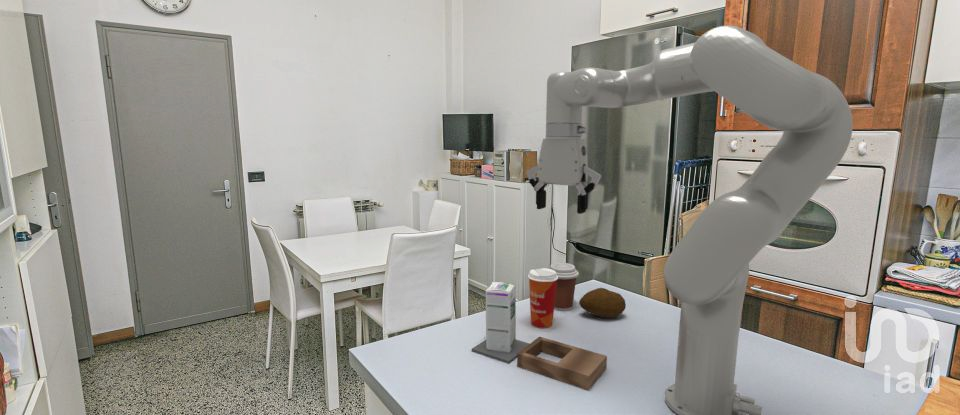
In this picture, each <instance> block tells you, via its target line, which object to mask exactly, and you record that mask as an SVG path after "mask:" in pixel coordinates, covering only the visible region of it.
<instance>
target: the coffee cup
mask: <svg viewBox="0 0 960 415" xmlns="http://www.w3.org/2000/svg"><path fill="white" fill-rule="evenodd" d="M548 269H551V270H554V271H556V273H557V276H558V279H557V282H556V293H555V304H554V311H555V310H556V311H562V312H563V311H564V312H565V311H566V312H567V311H570V310H573V307H574V298H575V290H576V281H577V278H578V277H579V276H580V274H579V271H578V270H577V269H576V266H575V265H574V264H572V263H568V262H553V263H552V264H550V266H549V268H548Z"/></svg>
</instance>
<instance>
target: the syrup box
mask: <svg viewBox="0 0 960 415" xmlns="http://www.w3.org/2000/svg"><path fill="white" fill-rule="evenodd" d="M516 289H517V288H516V284H515V283H511V282H503V281H495V282H494V281H492V282H491V284H490V285H488V287H487V288H486V289H485V340H486V349H487V350H492V351H499V352H507V353H510V352H511V350H512V348H513V346H514V344H515V342H516V340H517V339H516V337H517V336H516V330H517V329H516V321H517V319H516V318H517V317H516V313H517V312H516V308H517V307H516V304H517V302H516V299H517V298H516V293H517V292H516Z"/></svg>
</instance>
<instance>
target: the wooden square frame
mask: <svg viewBox="0 0 960 415" xmlns="http://www.w3.org/2000/svg"><path fill="white" fill-rule="evenodd" d="M541 353H543V354H545V355H550V356H553V357H556V358H559V359H560V360H559V361H558V362H555V361H553V360H550V359H547V358H544V357H540V356H538V355H540V354H541ZM607 362H608V355H606V354H602V353H598V352H596V351H595V352H594V351H592V350H588V349H584V348H581V347H577V346H574V345H570V344H567V343H563V342H559V341H557V340H552V339H549V338H546V337H542V336H538V337H537V338H535V339H534V340H533V341H532V342H530V344H529V345H528V346H526V347H525V348H524V349H522V350H521V351H520V352H518V353H517V358H516V367H517V368H520V369H523V370H526V369H527V370H526V371H529V372H531V373H535V374H538V375H542V376H545V377H546V378H550V379H553V380H557V381H559V382H562V383H565V384H568V385H570V386H574V387H577V388H581V389H583V390H586V391H589V390H590V389H591V388H592V387H593V386H594V384H595V383H596V382H597V381H598V380H599V378H600V377H601V376H602V375H603V374H604V373H605V372H606V370H607V365H608V363H607Z"/></svg>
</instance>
